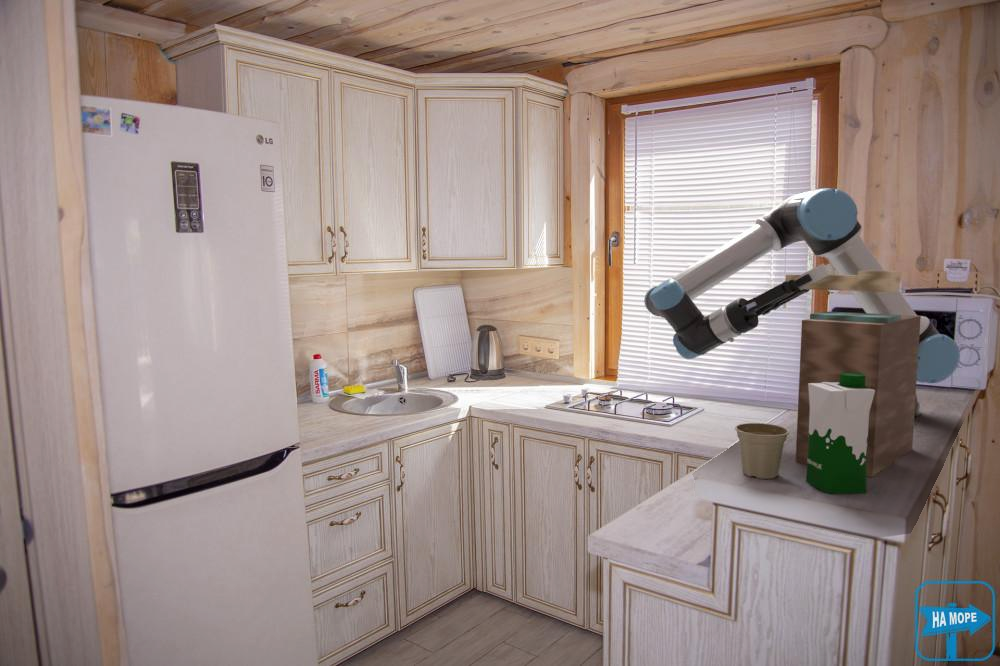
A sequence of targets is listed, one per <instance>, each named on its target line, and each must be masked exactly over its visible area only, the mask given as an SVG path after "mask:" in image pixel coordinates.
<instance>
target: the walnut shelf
mask: <svg viewBox="0 0 1000 666" xmlns="http://www.w3.org/2000/svg"><path fill="white" fill-rule="evenodd" d="M921 316H922V315H917V316H909V315H890V314H870V313H866V312H842V311H820V312H819V311H818V312H812V313H810V314H809V318H808V319H807V318H806V319H802V320H801V334H800V357H799V359H800V360H799V378H798V399H797V401H798V403H797V417H796V418H797V419H796V420H797V424H796V425H797V426H796V440H795V441H796V443H795V447H796V448H795V463H800V464H804V465H807V460H808V439H809V417H810V401H809V387H808V383H822V382H839V379H840V373H844V372H851V373H861V374H865V376H866V377H865V386H867V387H868V388H871V389H873V390H875V393H874V397H873V400H872V404H871V408H870V412H869V424H868V442H867V460H866V477H869V478H873V477H876V475H877V473H878V474H879V473H880V471H881V470H882V471H884V470H885V469H887V468H888V467H890V466H891V465H892V464H893V463H895V462H896V461H898V460H900V459H901V458H902V457H904V456H905V455H907V454H908V453H910V452H911V451H913V443H914V441H913V440H914V429H915V428H914V427H915V416H914V413H915V398H916V395H917V382H918V381H917V366H918V350H919V334H920V319H921ZM903 455H904V456H903ZM900 457H901V458H900ZM897 459H898V460H897ZM890 464H891V465H890ZM887 466H888V467H887ZM884 468H885V469H884ZM882 471H881V472H882Z"/></svg>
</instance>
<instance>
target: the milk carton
mask: <svg viewBox="0 0 1000 666" xmlns="http://www.w3.org/2000/svg"><path fill="white" fill-rule="evenodd" d="M865 377H866V376H865V374H861V373H851V372H844V373H840V379H839V382H822V383H808V387H809V401H810V417H809V439H808V460H807V464H806V475H805V476H806V478H805V480H806V481H805V482H807V483H808V484H810V485H812V486H813V487H815V488H817V489H818V490H820V491H822V492H823V493H824V494H827V495H831V494H832V495H833V494H834V495H837V494H839V495H841V494H864V493H865V494H866V493H867V476H866V460H867V442H868V424H869V412H870V408H871V404H872V400H873V397H874V393H875V390H873V389H871V388H868V387H867V386H865Z"/></svg>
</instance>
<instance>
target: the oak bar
mask: <svg viewBox="0 0 1000 666" xmlns="http://www.w3.org/2000/svg"><path fill="white" fill-rule="evenodd" d="M901 271H902V270H885V271H858V276H852V275H838V274H837V275H829V276H827V277H825V278H823V279H822V280H820V281H818V282H816V283H814V284H812V285H810V286H808V287H806V288H804V289H809V290H817V291H821V290H822V291H844V292H845V291H850V292H851V291H866V292H898V291H900V289H901V277H902V275H901V273H902V272H901ZM800 275H801V274H791V273H790V274H785V281H787V282H789V281H790V280H794V281H795V278H797V277H798V276H800ZM785 281H784V282H785ZM798 289H799V287H798ZM900 292H901V291H900Z"/></svg>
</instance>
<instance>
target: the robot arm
mask: <svg viewBox="0 0 1000 666" xmlns="http://www.w3.org/2000/svg"><path fill="white" fill-rule="evenodd" d="M858 214H859V213H858V207H857V204H856V202H855V201H854V199H853V198H852V197H851V196H850V195H849V194H848V193H846V192H845V191H843V190H840V189H839V188H838V189H837V188H832V187H831V188H828V187H820V188H816V189H813V190H810V191H804V192H800V193H796V194H793V195H791V196H788V198H786V199H785V200H783V201H782V202H780V203H779V204H777V205H776V206H775V207H773V208H772V209H770V210H769V211H768V212H766V213H764V214H763V215H762V216H760V217H759V218H757V219H756V221H755V225H753V226H752V227H750V228H748V229H747V230H746V231H743V232H742V233H741V234H739V235H738V236H736V237H735V238H733V239H731V240H730V241H728V242H727V243H725V244H723V245H721V246H720V247H719V248H717V249H716V250H713V252H710V253H709V254H707V255H706V256H704V257H703V258H701V259H700V260H698V261H696V262H695V263H693V264H692V265H690V266H689V267H687V268H685V269H684V270H682V271H680V272H679V273H678V274H676V275H674V276H673V277H671V278H669V279H666V280H664V281H662V282H661V283H660V284H658V285H656V286H653V287H651V288H650V289H648V290H647V292H646V294H645V296H644V306H645V308H646V310H648V312H649V313H651V315H653V316H655V317H661V318H663V319H665V321H666V322H667V323H668V324H669V325H670V326H671V328H672V329H673V331H674V332H675V333H674V335H673V337H672V343H673V346H674V347H675V348H676V349H675V350H676V352H677V353H678V354H679V356H680V357H682V358H683V359H686V360H694V359H696V358H698V357H700V356H704V355H705V354H707V353H709V352H710V351H712V350H714V349H717V348H718V347H720V346H722V345H724V344H725V343H727V342H730V343H733V342H734V341H735V338H737V337H739V336H741V335H742V334H746V333H748V332H749V331H752V330H753V329H755V328H757V327H758V326H759V316H765V315H767V314H770V313H771V312H772V311H776V310H777V309H778V308H780V307H781V306H784V305H785V304H787V303H789V302H791V301H793V300H795V299H797V298H798V297H800V296H802V295H804V294H806V293H808V292H809V291H810V289H804V288H806V287H808V286H810V285H812V284H814V283H816V282H818V281H820V280H822V279H823V278H825V277H827V276H829V275H852V276H858V271H886V270H885V269H884V267H883V266H882V265H881V264H880V262H879V261H878V259H877V258H876V257H875V255H874V254H873V252H872V251H871V249H869V246H867V244H866V243H865V241H864V240H863V239H862V237H861V232H862V230H863V226H862V225H861V223H860V221H859V220H858ZM803 241H804V242H805V243H806V245H808V247H809V249H811V251H812V253H813V254H814V255H815V256H816V257H820V258H825V259H826V260H827V261H828V263H827V264H825V263H821V264H819V265H817V266H815V267H814V268H811V269H809V270H807V271H806V272H804V273H802V274H799V275H800V276H798V277H797V278H795V281H794V280H790V281H789V282H787V281H782V283H780V284H778V285H776V286H774V287H772V288H770V289H769V290H766V291H764V292H763V293H761V294H759V295H757V296H755V297H752V298H751V299H749V300H747V299H746V298H744V297H740V298H736V299H735V300H733V301H732V302H729V303H728V304H726V305H724V306H723V307H721V308H719V309H717V310H714V311H712V312H711V313H710V314H708V315H704V314H703V313H702V311H701V310H700V309H699V307H697V305H696V304H695V302H694V301H693V300H694V299H697V298H698V297H699V296H701V295H703V294H704V293H706V292H707V291H709V290H710V289H712V288H714V287H715V286H717V285H719V284H720V283H723V281H725V280H726V279H728V278H730V277H732V276H733V275H734V274H737V273H738V272H739V271H741V270H743V269H744V268H746V267H748V266H749V265H751V264H752V263H754V262H755V261H757V260H759V259H760V258H762V257H763V256H765V255H766V254H768V253H770V252H771V251H775V252H779V251H781V250H782V249H784V248H786V247H787V246H789V245H792V244H795V243H798V242H803ZM798 287H799V289H798ZM850 293H851V295H853V297H854V299H855V300H856V301H857V303H858V304H859V305H860V306H861V308H862V309H863V311H864V313H870V314H890V315H909V316H918V314H916V312H915V310H914V309H913V308H912V307H911V305H910V303H909V302H908V300H906V298H905V296H903V294H902V292H901V291H898V292H866V291H850ZM920 316H921V319H920V334H919V350H918V366H917V382H918V383H924V384H925V383H927V384H937V383H940V382H943V381H946V379H948V378H950V377H951V376H952V375H953V374H954V372H956V369H957V368H958V366H959V364H958V363H959V361H960V360H961V359H960V357H961V353H960V348H959V345H958V344H957V342H956V341H955V340H954V339H953V338H951V337H950V336H948V335H947V334H943V333H942V334H941V333H940V332H939V331H938V330H937V329H936V327H935V326H934V325H933V323H932V322H931V320H930V319H929V318H928V317H927V316H923V315H920ZM920 414H921V405H920V403H919V402H918V395H917V394H916V398H915V413H914V417H917V416H920Z"/></svg>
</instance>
